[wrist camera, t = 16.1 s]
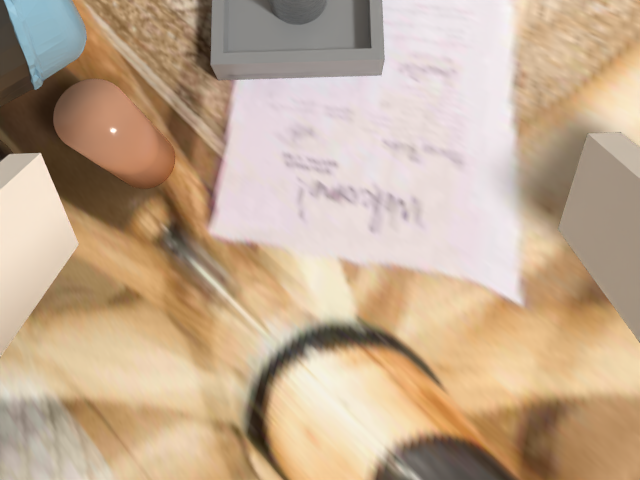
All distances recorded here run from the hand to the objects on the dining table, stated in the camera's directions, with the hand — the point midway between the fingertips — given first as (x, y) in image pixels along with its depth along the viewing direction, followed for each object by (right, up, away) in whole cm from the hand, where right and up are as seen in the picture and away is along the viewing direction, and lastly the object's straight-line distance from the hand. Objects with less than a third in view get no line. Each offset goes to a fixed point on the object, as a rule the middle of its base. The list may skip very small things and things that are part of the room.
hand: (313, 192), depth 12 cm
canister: (-14, +5, +28) cm, 32 cm away
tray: (-2, +20, +30) cm, 36 cm away
